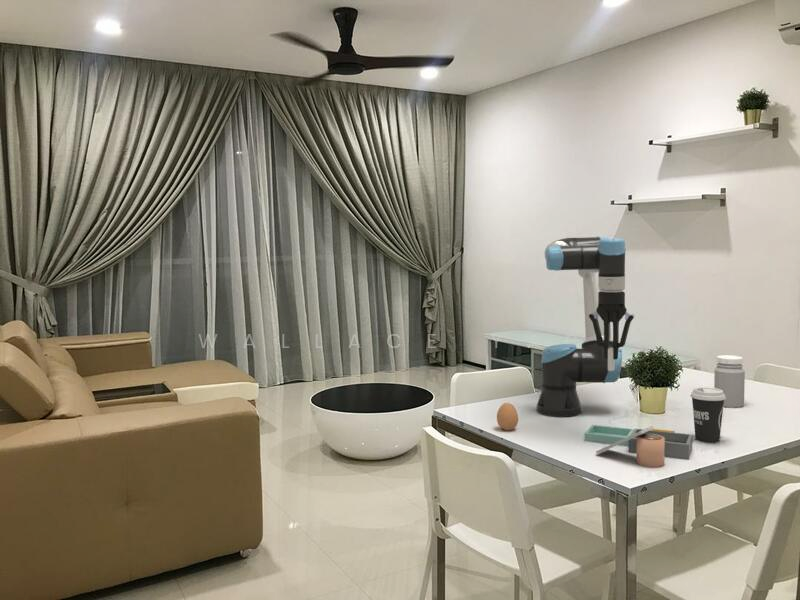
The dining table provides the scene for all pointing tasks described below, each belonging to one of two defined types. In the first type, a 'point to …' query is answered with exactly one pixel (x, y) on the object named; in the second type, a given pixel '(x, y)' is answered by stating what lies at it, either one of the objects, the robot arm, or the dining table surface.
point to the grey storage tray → (670, 447)
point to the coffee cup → (707, 413)
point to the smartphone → (624, 439)
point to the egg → (507, 416)
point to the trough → (607, 434)
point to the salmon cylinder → (650, 450)
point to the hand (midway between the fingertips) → (611, 369)
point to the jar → (730, 380)
